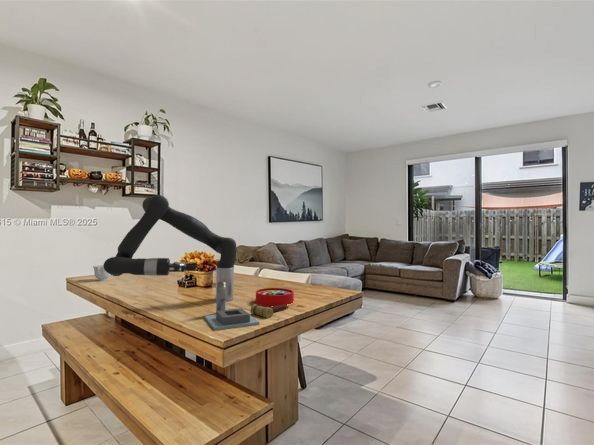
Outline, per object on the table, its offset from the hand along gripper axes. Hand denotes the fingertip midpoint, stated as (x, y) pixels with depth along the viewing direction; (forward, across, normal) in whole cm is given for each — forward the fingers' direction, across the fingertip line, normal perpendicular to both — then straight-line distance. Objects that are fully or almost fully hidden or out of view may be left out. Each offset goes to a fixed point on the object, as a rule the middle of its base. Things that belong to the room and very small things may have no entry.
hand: (196, 266), depth 143 cm
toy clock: (+39, +19, +21) cm, 48 cm away
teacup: (-69, +99, +22) cm, 123 cm away
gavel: (+35, -1, +21) cm, 41 cm away
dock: (+15, -12, +21) cm, 29 cm away
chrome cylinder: (+11, 0, +21) cm, 24 cm away
